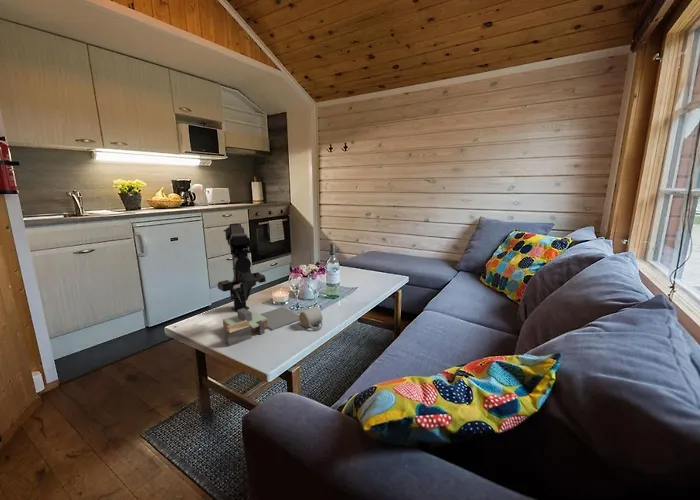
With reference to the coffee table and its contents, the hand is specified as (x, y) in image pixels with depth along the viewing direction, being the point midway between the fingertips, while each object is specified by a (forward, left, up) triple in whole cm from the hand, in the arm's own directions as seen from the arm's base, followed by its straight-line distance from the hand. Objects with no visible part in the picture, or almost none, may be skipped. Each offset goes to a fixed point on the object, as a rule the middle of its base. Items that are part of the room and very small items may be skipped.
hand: (243, 301), depth 134 cm
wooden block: (+7, -7, -8) cm, 13 cm away
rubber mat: (0, +16, -13) cm, 20 cm away
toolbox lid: (+1, 0, -9) cm, 9 cm away
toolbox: (+1, -2, -13) cm, 13 cm away
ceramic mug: (+18, +23, -13) cm, 32 cm away
